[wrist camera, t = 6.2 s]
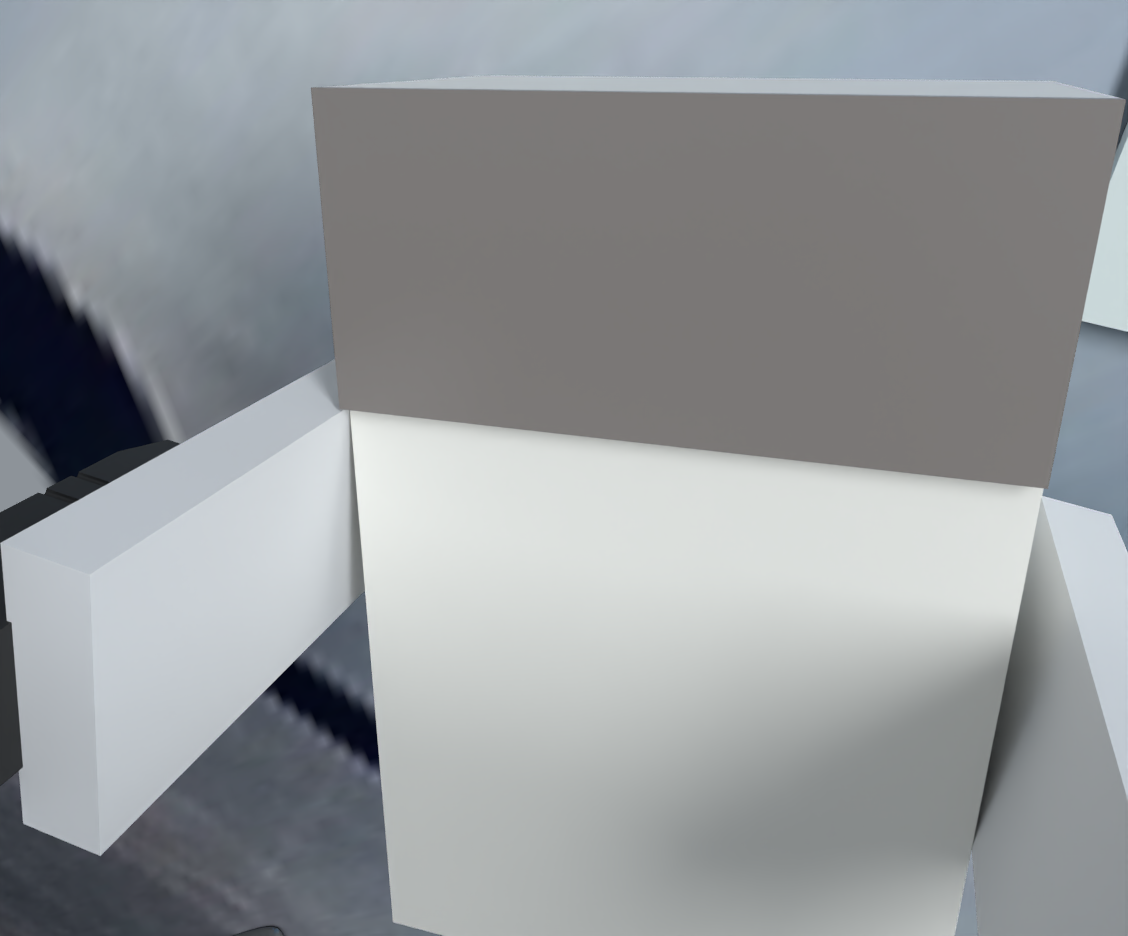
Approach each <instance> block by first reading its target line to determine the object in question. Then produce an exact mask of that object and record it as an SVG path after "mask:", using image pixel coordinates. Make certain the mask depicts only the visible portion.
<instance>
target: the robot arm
mask: <svg viewBox="0 0 1128 936" xmlns="http://www.w3.org/2000/svg"><path fill="white" fill-rule="evenodd" d="M364 591H365V584H364V572H363V560H362V548H361V536H360V524H359V513H358V501H357V489H356V477H355V465H354V453H353V442H352V430H351V418H350V410H343V409H339V398H338V387H337V376H336V365H335V359H334V360H332V361H330V362H328V363H327V364H325V365H323V366H321V367H319V368H318V369H316V370H314V371H312V372H310V373H308V374H307V375H305V376H303V377H301V378H299V379H298V380H296V381H294V382H292V383H290V384H288V385H287V386H285V387H283V388H281V389H279V390H278V391H276V392H274V393H272V394H270V395H268V396H267V397H265V398H263V399H261V400H259V401H258V402H256V403H254V404H252V405H250V406H248V407H247V408H245V409H243V410H241V411H239V412H238V413H236V414H234V415H232V416H230V417H228V418H227V419H225V420H223V421H221V422H219V423H218V424H216V425H214V426H212V427H210V428H208V429H207V430H205V431H203V432H201V433H199V434H198V435H196V436H194V437H192V438H190V439H189V440H187V441H185V442H183V443H181V444H179V443H176V442H173V441H170V440H165V441H161V442H157V443H152V444H148V445H144V446H140V447H136V448H131V449H127V450H123V451H119V452H116V453H114V454H112V455H110V456H109V457H107V458H105V459H103V460H101V461H99V462H97V463H95V464H93V465H91V466H89V467H87V468H85V469H83V470H81V471H79V474H78V476H77V477H73V476H70V477H68V478H66V479H64V480H62V481H60V482H58V483H56V484H54V485H52V486H50V487H49V488H47V490H46V493H45V494H41V493H37V494H35V495H33V496H31V497H29V498H27V499H25V500H23V501H21V502H19V503H18V504H16V505H14V506H12V507H10V508H8V509H6V510H4V511H2V512H0V786H1V785H2V784H3V783H4V782H5V781H7V780H8V779H9V778H10V777H12V776H13V775H14V774H15V773H16V772H18V771H19V778H20V790H21V802H22V815H23V824H25V825H28V826H30V827H32V828H35V829H37V830H40V831H42V832H44V833H47V834H49V835H51V836H54V837H56V838H59V839H61V840H63V841H66V842H68V843H71V844H73V845H75V846H78V847H80V848H82V849H85V850H87V851H90V852H92V853H94V854H97V855H99V856H101V855H102V854H103V853H104V852H105V851H106V850H107V849H108V848H109V847H110V846H111V845H112V844H113V843H114V842H115V841H116V840H117V839H118V838H119V837H120V836H121V835H122V834H123V833H124V832H125V831H126V830H127V829H128V828H129V827H130V826H131V825H132V824H133V823H134V822H135V821H136V820H137V819H138V818H139V817H140V816H141V815H142V814H143V813H144V812H145V811H146V810H147V809H148V808H149V807H150V806H151V805H152V804H153V803H154V801H155V800H156V799H157V798H158V797H159V796H160V795H161V794H162V793H163V792H164V791H165V790H166V789H167V788H168V787H169V786H170V785H171V784H172V783H173V782H174V781H175V780H176V779H177V778H178V777H179V776H180V775H181V774H182V773H183V772H184V771H185V770H186V769H187V768H188V767H189V766H190V765H191V764H192V763H193V762H194V761H195V760H196V759H197V758H198V757H199V756H200V755H201V754H202V753H203V752H204V751H205V750H206V749H207V748H208V747H209V746H210V745H211V744H212V743H213V742H214V741H215V740H216V739H217V738H218V737H219V736H220V735H221V734H222V733H223V732H224V731H225V730H226V729H227V728H228V727H229V726H230V725H231V724H232V723H233V722H234V721H235V720H236V719H237V718H238V717H239V716H240V715H241V714H242V713H243V712H244V711H245V710H246V709H247V708H248V707H249V706H250V705H251V704H252V703H253V702H254V701H255V700H256V699H257V698H258V697H259V696H260V695H261V694H262V693H263V692H264V691H265V690H266V689H267V688H268V687H269V686H270V685H271V684H272V683H273V682H274V681H275V680H276V679H277V678H278V677H279V676H280V675H281V674H282V673H283V672H284V671H285V670H286V669H287V668H288V667H289V666H290V665H291V664H292V663H293V662H294V661H295V660H296V659H297V658H298V657H299V656H300V655H301V654H302V653H303V652H304V651H305V650H306V649H307V648H308V647H309V646H310V645H311V644H312V643H313V642H314V641H315V640H316V639H317V638H318V637H319V636H320V635H321V634H322V633H323V632H324V631H325V630H326V629H327V628H328V627H329V626H330V625H331V624H332V623H333V622H334V621H335V620H336V619H337V618H338V617H339V616H340V615H341V614H342V613H343V612H344V611H345V610H346V609H347V608H348V607H349V606H350V605H351V604H352V603H353V602H354V601H355V600H356V599H357V598H358V597H359V596H360V595H361V594H362V593H363V592H364ZM972 859H973V872H974V886H975V899H976V912H977V926H978V936H1128V552H1127V550H1126V548H1125V545H1124V543H1123V541H1122V538H1121V536H1120V534H1119V531H1118V529H1117V526H1116V524H1115V522H1114V519H1113V517H1112V515H1110V514H1107V513H1103V512H1099V511H1096V510H1092V509H1088V508H1085V507H1081V506H1077V505H1074V504H1070V503H1066V502H1063V501H1059V500H1055V499H1052V498H1048V497H1044V496H1042V498H1041V503H1040V508H1039V513H1038V518H1037V523H1036V528H1035V533H1034V538H1033V543H1032V548H1031V553H1030V558H1029V563H1028V568H1027V573H1026V578H1025V583H1024V589H1023V594H1022V599H1021V604H1020V609H1019V614H1018V619H1017V624H1016V629H1015V634H1014V639H1013V644H1012V649H1011V654H1010V659H1009V664H1008V669H1007V674H1006V679H1005V684H1004V689H1003V694H1002V699H1001V704H1000V709H999V714H998V719H997V724H996V729H995V734H994V739H993V744H992V749H991V755H990V760H989V765H988V770H987V775H986V780H985V785H984V790H983V795H982V800H981V805H980V810H979V815H978V820H977V825H976V830H975V835H974V840H973V845H972Z"/></svg>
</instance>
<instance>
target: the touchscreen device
mask: <svg viewBox="0 0 1128 936" xmlns="http://www.w3.org/2000/svg"><path fill="white" fill-rule="evenodd" d="M235 936H284V935H283V934H282V932H281V931H280V930H279V929H278V928H276V927H264V928H259V929H255V930H251V931H247V932H244V933H241V934H238V935H235Z"/></svg>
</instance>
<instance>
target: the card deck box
mask: <svg viewBox="0 0 1128 936" xmlns="http://www.w3.org/2000/svg"><path fill="white" fill-rule="evenodd" d="M311 94H312V105H313V116H314V127H315V139H316V150H317V161H318V173H319V184H320V195H321V206H322V218H323V229H324V240H325V252H326V263H327V274H328V285H329V297H330V308H331V319H332V331H333V342H334V353H335V365H336V376H337V387H338V398H339V409H343V410H350V418H351V430H352V442H353V453H354V465H355V477H356V489H357V501H358V513H359V524H360V536H361V548H362V560H363V572H364V584H365V595H366V607H367V619H368V631H369V643H370V655H371V667H372V678H373V690H374V702H375V714H376V726H377V738H378V749H379V761H380V773H381V785H382V797H383V809H384V820H385V832H386V844H387V856H388V868H389V880H390V891H391V903H392V915H393V922H394V923H398V924H402V925H406V926H409V927H413V928H417V929H421V930H424V931H428V932H432V933H436V934H439V935H443V936H955V931H956V926H957V921H958V915H959V910H960V905H961V900H962V895H963V890H964V885H965V880H966V875H967V870H968V865H969V860H970V855H971V850H972V845H973V840H974V835H975V830H976V825H977V820H978V815H979V810H980V805H981V800H982V795H983V790H984V785H985V780H986V775H987V770H988V765H989V760H990V755H991V749H992V744H993V739H994V734H995V729H996V724H997V719H998V714H999V709H1000V704H1001V699H1002V694H1003V689H1004V684H1005V679H1006V674H1007V669H1008V664H1009V659H1010V654H1011V649H1012V644H1013V639H1014V634H1015V629H1016V624H1017V619H1018V614H1019V609H1020V604H1021V599H1022V594H1023V589H1024V583H1025V578H1026V573H1027V568H1028V563H1029V558H1030V553H1031V548H1032V543H1033V538H1034V533H1035V528H1036V523H1037V518H1038V513H1039V508H1040V503H1041V498H1042V493H1043V488H1044V489H1048V486H1049V481H1050V476H1051V471H1052V466H1053V461H1054V456H1055V451H1056V446H1057V441H1058V436H1059V431H1060V426H1061V421H1062V416H1063V411H1064V406H1065V401H1066V396H1067V391H1068V386H1069V381H1070V377H1071V372H1072V367H1073V362H1074V357H1075V352H1076V347H1077V342H1078V337H1079V332H1080V327H1081V322H1082V317H1083V312H1084V307H1085V302H1086V297H1087V292H1088V287H1089V282H1090V277H1091V272H1092V267H1093V262H1094V257H1095V252H1096V247H1097V242H1098V237H1099V232H1100V227H1101V222H1102V217H1103V212H1104V207H1105V202H1106V197H1107V192H1108V187H1109V182H1110V177H1111V172H1112V167H1113V162H1114V157H1115V152H1116V147H1117V142H1118V137H1119V132H1120V127H1121V122H1122V117H1123V112H1124V107H1125V102H1126V99H1122V98H1118V97H1114V96H1110V95H1106V94H1102V93H1098V92H1094V91H1091V90H1087V89H1083V88H1079V87H1075V86H1071V85H1067V84H1063V83H1059V82H1055V81H999V80H899V79H800V78H700V77H601V76H501V75H484V76H470V77H456V78H442V79H428V80H413V81H399V82H385V83H371V84H357V85H343V86H329V87H315V88H311Z"/></svg>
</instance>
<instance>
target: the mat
mask: <svg viewBox="0 0 1128 936" xmlns="http://www.w3.org/2000/svg"><path fill="white" fill-rule="evenodd" d="M1082 321H1084V322H1088V323H1093V324H1097V325H1101V326H1105V327H1110V328H1114V329H1118V330H1122V331H1127V332H1128V123H1127V125H1126V128H1125V130H1124V133H1123V135H1122V138H1121V140H1120V143H1119V145H1118V148H1117V150H1116V153H1115V157H1114V162H1113V167H1112V172H1111V177H1110V182H1109V187H1108V192H1107V197H1106V202H1105V207H1104V212H1103V217H1102V222H1101V227H1100V232H1099V237H1098V242H1097V247H1096V252H1095V257H1094V262H1093V267H1092V272H1091V277H1090V282H1089V287H1088V292H1087V297H1086V302H1085V307H1084V312H1083V317H1082Z"/></svg>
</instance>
